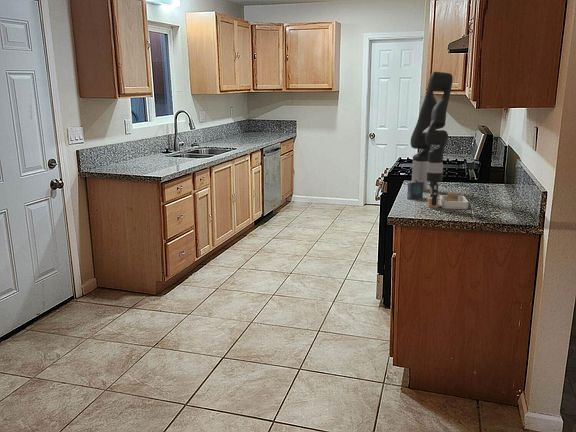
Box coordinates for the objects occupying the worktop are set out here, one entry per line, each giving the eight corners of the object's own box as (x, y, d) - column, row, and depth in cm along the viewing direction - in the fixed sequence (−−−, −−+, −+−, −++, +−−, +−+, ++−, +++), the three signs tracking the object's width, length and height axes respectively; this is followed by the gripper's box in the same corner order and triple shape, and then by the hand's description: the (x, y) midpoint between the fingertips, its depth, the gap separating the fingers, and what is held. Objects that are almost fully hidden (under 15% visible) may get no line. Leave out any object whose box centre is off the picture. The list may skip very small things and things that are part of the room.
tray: (439, 201, 262) (439, 195, 261) (463, 202, 260) (463, 195, 259) (442, 208, 248) (442, 201, 247) (468, 209, 245) (468, 202, 244)
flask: (408, 199, 269) (409, 179, 266) (405, 198, 272) (406, 178, 269) (423, 198, 272) (424, 178, 269) (420, 197, 274) (421, 177, 272)
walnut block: (447, 200, 259) (447, 192, 258) (456, 201, 258) (456, 192, 257) (448, 202, 255) (448, 194, 254) (457, 203, 254) (458, 194, 253)
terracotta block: (427, 205, 254) (427, 197, 253) (436, 206, 253) (437, 197, 252) (428, 207, 249) (428, 199, 248) (437, 208, 249) (438, 199, 248)
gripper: (444, 173, 239) (442, 206, 243) (441, 169, 253) (439, 200, 257) (428, 173, 241) (426, 206, 244) (425, 169, 254) (424, 200, 258)
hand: (433, 203), depth 251 cm, fingers open, 8 cm apart
